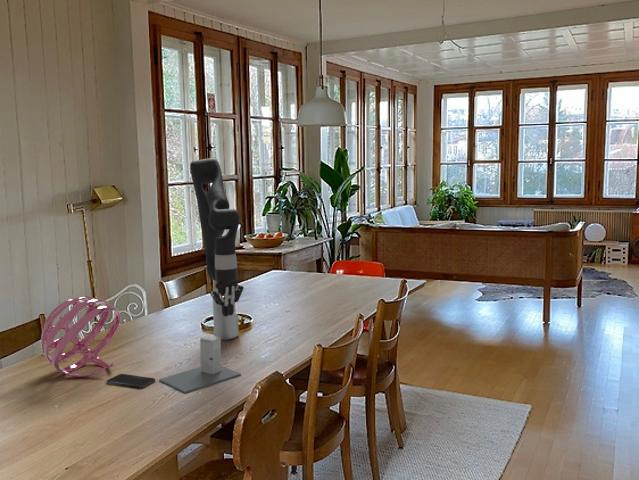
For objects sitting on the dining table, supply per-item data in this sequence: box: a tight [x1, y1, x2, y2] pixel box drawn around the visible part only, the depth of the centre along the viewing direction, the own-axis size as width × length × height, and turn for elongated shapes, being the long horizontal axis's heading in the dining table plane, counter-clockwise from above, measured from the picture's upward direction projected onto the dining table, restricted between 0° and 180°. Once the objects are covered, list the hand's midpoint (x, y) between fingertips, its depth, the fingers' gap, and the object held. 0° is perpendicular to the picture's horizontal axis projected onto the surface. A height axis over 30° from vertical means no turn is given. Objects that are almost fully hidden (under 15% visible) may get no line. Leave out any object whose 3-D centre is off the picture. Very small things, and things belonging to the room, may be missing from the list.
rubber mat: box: [158, 365, 242, 394], centre depth 206 cm, size 22×16×1 cm
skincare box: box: [199, 334, 222, 374], centre depth 210 cm, size 6×4×12 cm
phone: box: [106, 373, 156, 390], centre depth 203 cm, size 8×1×15 cm
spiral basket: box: [40, 295, 122, 378], centre depth 213 cm, size 28×28×27 cm
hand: (227, 315), depth 213 cm, fingers closed
